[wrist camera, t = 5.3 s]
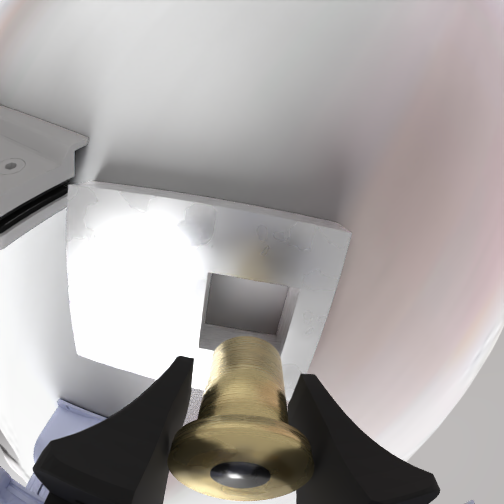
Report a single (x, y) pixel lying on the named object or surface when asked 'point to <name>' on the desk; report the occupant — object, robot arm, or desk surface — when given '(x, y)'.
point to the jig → (190, 275)
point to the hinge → (33, 171)
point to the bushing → (242, 429)
